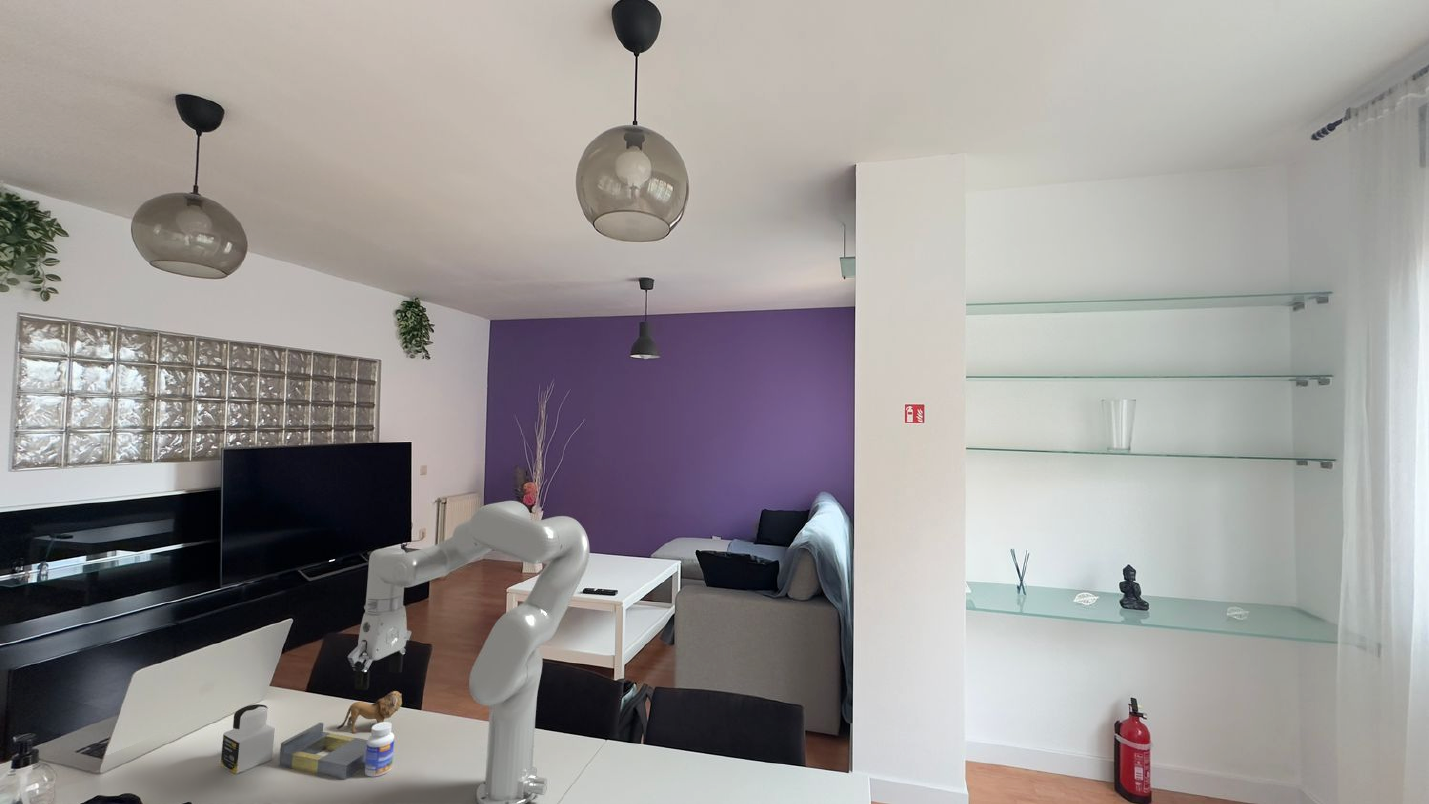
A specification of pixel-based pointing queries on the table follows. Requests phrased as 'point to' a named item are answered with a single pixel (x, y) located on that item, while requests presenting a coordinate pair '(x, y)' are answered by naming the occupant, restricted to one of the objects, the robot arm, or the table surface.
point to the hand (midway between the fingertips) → (378, 679)
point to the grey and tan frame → (337, 764)
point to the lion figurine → (373, 710)
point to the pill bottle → (379, 750)
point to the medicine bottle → (248, 740)
